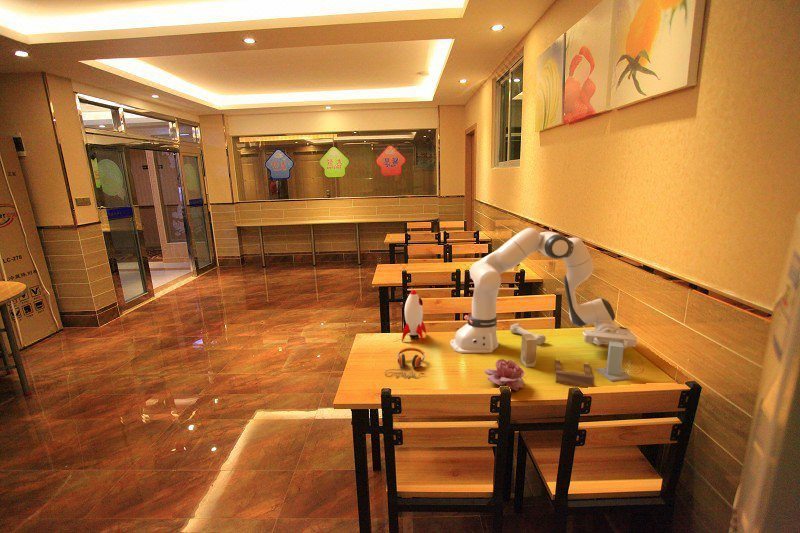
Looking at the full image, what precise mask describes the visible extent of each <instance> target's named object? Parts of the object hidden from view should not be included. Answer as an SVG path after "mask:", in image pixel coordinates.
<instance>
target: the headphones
mask: <svg viewBox="0 0 800 533" xmlns="http://www.w3.org/2000/svg"><path fill="white" fill-rule="evenodd" d="M410 351H411V352H412V351H413V352H417V353H420V354H421V355H422V357H421V356H419V355H418V354H415V355H414V356H413V357H412V361H411V367H410V368H406V369H405V371H408V370H410V369H413V368H414V369H415V368H420V366H421V365H422V363H423V362H424V359H425V352H424V350H422V349H421V348H419V347H413V346H411V347H410V346H409V347H404V348H401V349H400V350H399V351H398V353H397V364H398V365H399V366H400V367H402V368H401V369H399V368H398V371H400V372H399V374H398V373H396V372H394V373H392V374H391V375H390V377H392V376H393V375H395V374H396V376H395V378H396V377H397V378H399V377H400V375H401V377H404V378H403V379H405V380H406V378H407V379H408V380H409V379H411V378H414V379H416V373H415V372H414V371H411V372H410V373H409V374H407V373H406V372H403V370H404V368H405V367H406V365H407V364H406V354H405V352H410ZM388 371H397V369H395V368H394V369H391V368H390V369H388V370H387V369H386V370H385V372H384V375H385V376H386V375H387V373H386V372H388ZM420 375H425V373H423V372H422V373H421V372H420V373H419V374H418V377H417V378H419V377H420Z"/></svg>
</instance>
